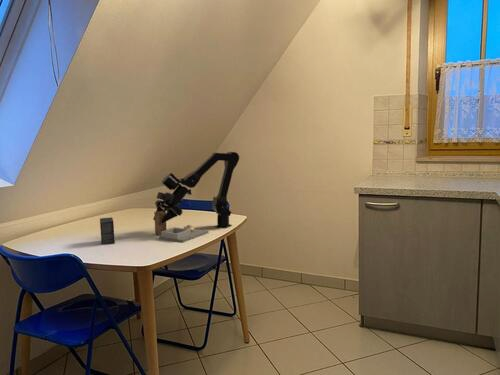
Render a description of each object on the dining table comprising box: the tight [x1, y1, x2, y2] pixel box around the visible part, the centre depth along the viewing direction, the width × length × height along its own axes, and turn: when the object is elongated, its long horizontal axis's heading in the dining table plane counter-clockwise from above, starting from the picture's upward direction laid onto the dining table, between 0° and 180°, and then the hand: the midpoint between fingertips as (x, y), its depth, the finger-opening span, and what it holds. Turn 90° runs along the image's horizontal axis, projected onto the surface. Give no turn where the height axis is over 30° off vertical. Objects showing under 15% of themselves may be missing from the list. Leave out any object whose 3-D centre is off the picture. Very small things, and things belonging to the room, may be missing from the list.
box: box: [99, 216, 116, 246], centre depth 187 cm, size 8×6×11 cm
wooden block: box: [153, 211, 167, 237], centre depth 200 cm, size 4×4×11 cm
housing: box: [158, 224, 209, 243], centre depth 197 cm, size 20×14×4 cm
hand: (157, 221), depth 199 cm, fingers open, 8 cm apart
